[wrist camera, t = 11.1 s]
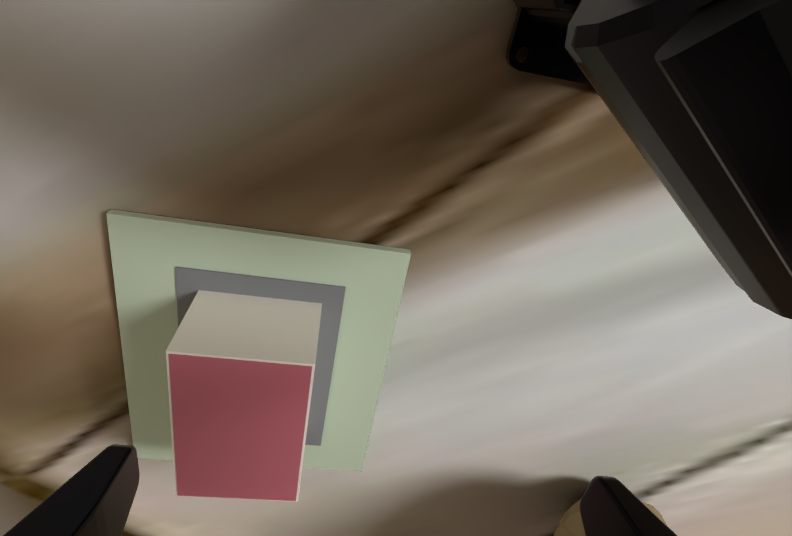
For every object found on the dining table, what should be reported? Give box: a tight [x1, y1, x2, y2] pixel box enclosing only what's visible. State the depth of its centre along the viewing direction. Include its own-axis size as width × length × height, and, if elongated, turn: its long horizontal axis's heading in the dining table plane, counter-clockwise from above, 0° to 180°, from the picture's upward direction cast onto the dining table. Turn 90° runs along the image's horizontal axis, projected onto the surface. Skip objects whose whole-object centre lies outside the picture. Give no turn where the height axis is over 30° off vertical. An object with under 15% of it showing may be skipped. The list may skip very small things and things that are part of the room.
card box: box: [166, 290, 322, 502], centre depth 21 cm, size 8×5×4 cm, turn 170°
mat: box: [106, 209, 411, 472], centre depth 23 cm, size 12×14×1 cm
